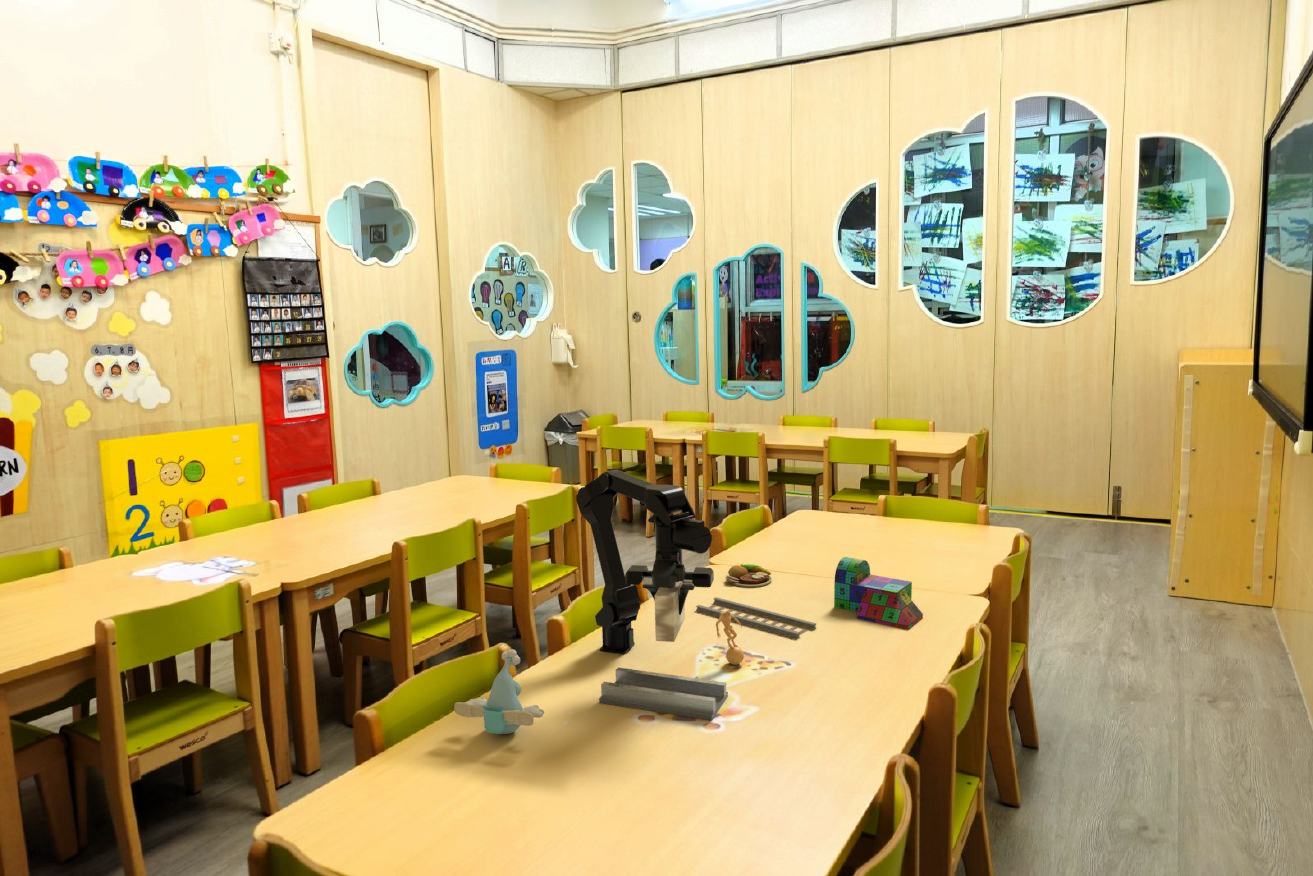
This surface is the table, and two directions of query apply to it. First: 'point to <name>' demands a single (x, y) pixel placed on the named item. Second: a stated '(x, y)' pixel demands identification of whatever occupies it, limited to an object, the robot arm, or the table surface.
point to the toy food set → (748, 575)
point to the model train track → (761, 613)
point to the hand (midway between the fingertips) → (670, 613)
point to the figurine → (730, 638)
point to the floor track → (665, 693)
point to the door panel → (668, 613)
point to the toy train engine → (874, 595)
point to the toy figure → (501, 703)
